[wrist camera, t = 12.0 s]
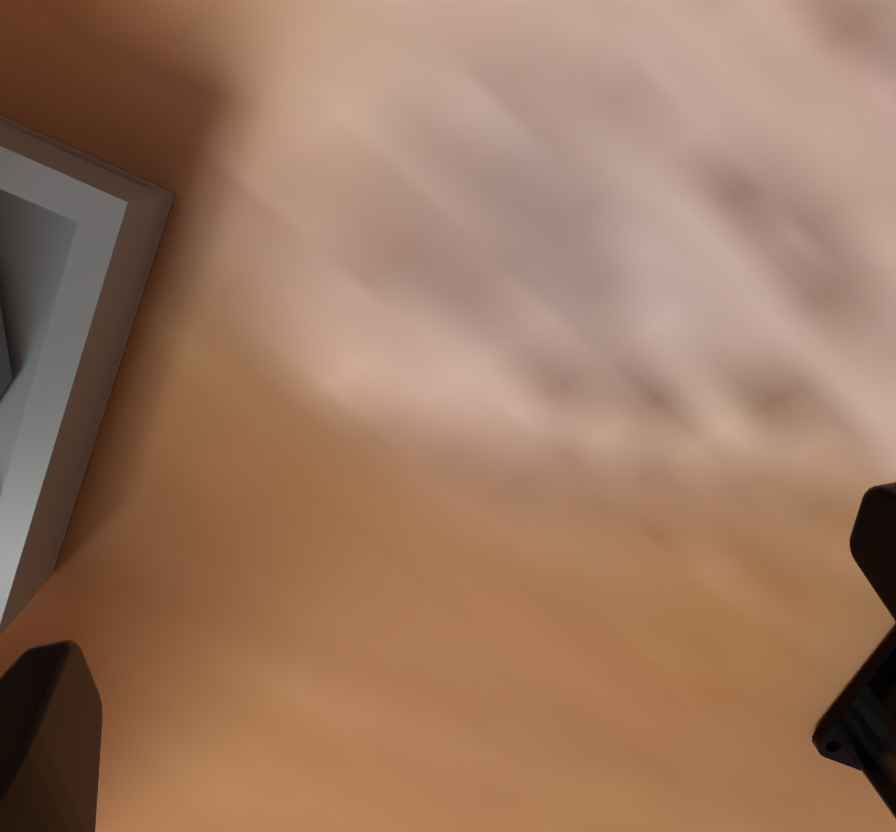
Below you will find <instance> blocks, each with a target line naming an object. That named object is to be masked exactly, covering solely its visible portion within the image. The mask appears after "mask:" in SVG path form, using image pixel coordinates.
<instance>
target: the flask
mask: <svg viewBox="0 0 896 832" xmlns="http://www.w3.org/2000/svg"><path fill="white" fill-rule="evenodd" d="M11 380H12V373H11V367H10V361H9V354H8V348H7V342H6V336H5V329H4V323H3V317H2V311H1V304H0V397H1V395H2V394H3V392H4V391H5V389H6V388H7V386H8V385H9V383H10V382H11Z"/></svg>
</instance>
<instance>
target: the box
mask: <svg viewBox="0 0 896 832" xmlns="http://www.w3.org/2000/svg"><path fill="white" fill-rule="evenodd" d="M174 195H175V193H173V192H171V191H169V190H167V189H164V188H162V187H160V186H158V185H155V184H153V183H151V182H149V181H147V180H144V179H142V178H140V177H138V176H135V175H133V174H131V173H129V172H126V171H124V170H122V169H120V168H118V167H115V166H113V165H111V164H109V163H106V162H104V161H102V160H100V159H98V158H95V157H93V156H91V155H89V154H86V153H84V152H82V151H80V150H77V149H75V148H73V147H71V146H69V145H66V144H64V143H62V142H60V141H57V140H55V139H53V138H51V137H48V136H46V135H44V134H42V133H40V132H37V131H35V130H33V129H31V128H28V127H26V126H24V125H22V124H20V123H17V122H15V121H13V120H11V119H8V118H6V117H4V116H2V115H0V304H1V311H2V317H3V323H4V329H5V336H6V342H7V348H8V354H9V361H10V367H11V373H12V380H11V382H10V383H9V385H8V386H7V388H6V389H5V391H4V392H3V394H2V395H1V397H0V634H1V633H2V632H3V631H4V630H5V629H6V628H7V626H8V625H9V624H10V623H11V622H12V621H13V619H14V618H15V617H16V616H17V615H18V614H19V612H20V611H21V610H22V609H23V608H24V607H25V606H26V604H27V603H28V602H29V601H30V600H31V599H32V597H33V596H34V595H35V594H36V593H37V592H38V591H39V589H40V588H41V587H42V586H43V585H44V584H45V582H46V581H47V580H48V579H49V578H50V577H51V575H52V574H53V571H54V568H55V565H56V562H57V559H58V556H59V553H60V550H61V546H62V543H63V540H64V537H65V534H66V531H67V528H68V525H69V522H70V518H71V515H72V512H73V509H74V506H75V503H76V500H77V497H78V494H79V491H80V487H81V484H82V481H83V478H84V475H85V472H86V469H87V466H88V463H89V459H90V456H91V453H92V450H93V447H94V444H95V441H96V438H97V435H98V432H99V428H100V425H101V422H102V419H103V416H104V413H105V410H106V407H107V404H108V400H109V397H110V394H111V391H112V388H113V385H114V382H115V379H116V376H117V373H118V369H119V366H120V363H121V360H122V357H123V354H124V351H125V348H126V345H127V341H128V338H129V335H130V332H131V329H132V326H133V323H134V320H135V317H136V314H137V310H138V307H139V304H140V301H141V298H142V295H143V292H144V289H145V286H146V282H147V279H148V276H149V273H150V270H151V267H152V264H153V261H154V258H155V255H156V251H157V248H158V245H159V242H160V239H161V236H162V233H163V230H164V227H165V223H166V220H167V217H168V214H169V211H170V208H171V205H172V202H173V199H174Z"/></svg>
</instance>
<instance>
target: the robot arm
mask: <svg viewBox="0 0 896 832" xmlns="http://www.w3.org/2000/svg"><path fill="white" fill-rule="evenodd" d="M850 550H851V553H852V556H853V558H854V560H855V562H856V563H857V565H858V566H859V568H860V569H861V570H862V572H863V573H864V575H865V576H866V578H867V579H868V581H869V582H870V584H871V585H872V587H873V588H874V590H875V591H876V593H877V594H878V596H879V597H880V599H881V600H882V602H883V603H884V605H885V606H886V608H887V609H888V611H889V612H890V614H891V615H892V617H893V618H894V620H895V621H896V482H894V483H888V484H883V485H878V486H874V487H871V488H869V489H868V490H867V491H866V492H865V494H864V496H863V498H862V501H861V504H860V507H859V511H858V514H857V517H856V520H855V523H854V527H853V530H852V533H851V536H850ZM101 731H102V704H101V699H100V695H99V692H98V690H97V687H96V685H95V682H94V680H93V677H92V675H91V672H90V670H89V667H88V665H87V662H86V660H85V658H84V655H83V653H82V650H81V648H80V647H79V645H78V644H77V643H76V642H74V641H70V640H66V641H61V642H56V643H50V644H45V645H40V646H35V647H33V648H30V649H28V650H27V651H26V652H24V653H23V654H22V655H21V656H20V657H19V658H18V659H17V660H16V662H15V663H14V664H13V665H12V666H11V667H10V668H9V669H8V670H7V671H6V672H5V673H4V674H3V676H2V677H1V678H0V832H95V823H96V808H97V793H98V777H99V762H100V747H101ZM830 741H831V742H830ZM812 742H813V744H814V745H815V747H816V748H817V750H818V751H819V753H820V754H821V755H822V756H824V757H826V758H828V759H831V760H834V761H837V762H839V763H842V764H845V765H847V766H850V767H853V768H856V769H858V770H861V771H862V772H863V773H864V774H865V776H866V777H867V779H868V780H869V781H870V783H871V784H872V786H873V787H874V789H875V790H876V791H877V793H878V794H879V796H880V797H881V798H882V800H883V801H884V803H885V804H886V806H887V807H888V808H889V810H890V811H891V813H892V814H893V815H894V817H895V818H896V630H895V631H894V632H893V634H892V635H891V636H890V637H889V639H888V640H887V641H886V642H885V644H884V645H883V646H882V648H881V649H880V650H879V651H878V653H877V654H876V655H875V656H874V658H873V659H872V660H871V661H870V663H869V664H868V665H867V666H866V668H865V669H864V670H863V672H862V673H861V674H860V675H859V677H858V678H857V679H856V680H855V682H854V683H853V684H852V685H851V687H850V688H849V689H848V690H847V692H846V693H845V694H844V696H843V697H842V698H841V699H840V701H839V702H838V703H837V704H836V706H835V707H834V708H833V709H832V711H831V712H830V713H829V714H828V716H827V717H826V718H825V720H824V721H823V722H822V723H821V725H820V726H819V727H818V728H817V730H816V731H815V732H814V734H813V736H812Z"/></svg>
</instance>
